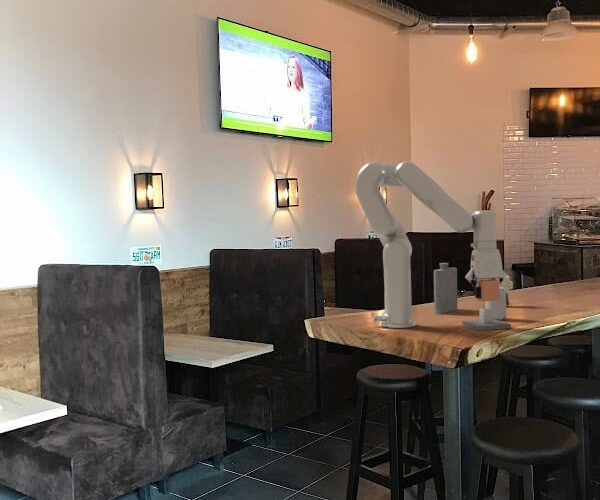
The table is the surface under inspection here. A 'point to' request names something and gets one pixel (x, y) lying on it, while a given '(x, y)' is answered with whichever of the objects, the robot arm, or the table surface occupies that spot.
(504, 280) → the character mug
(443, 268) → the hip flask
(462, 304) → the table surface
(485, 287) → the salmon pink cube
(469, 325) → the post base
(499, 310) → the can
